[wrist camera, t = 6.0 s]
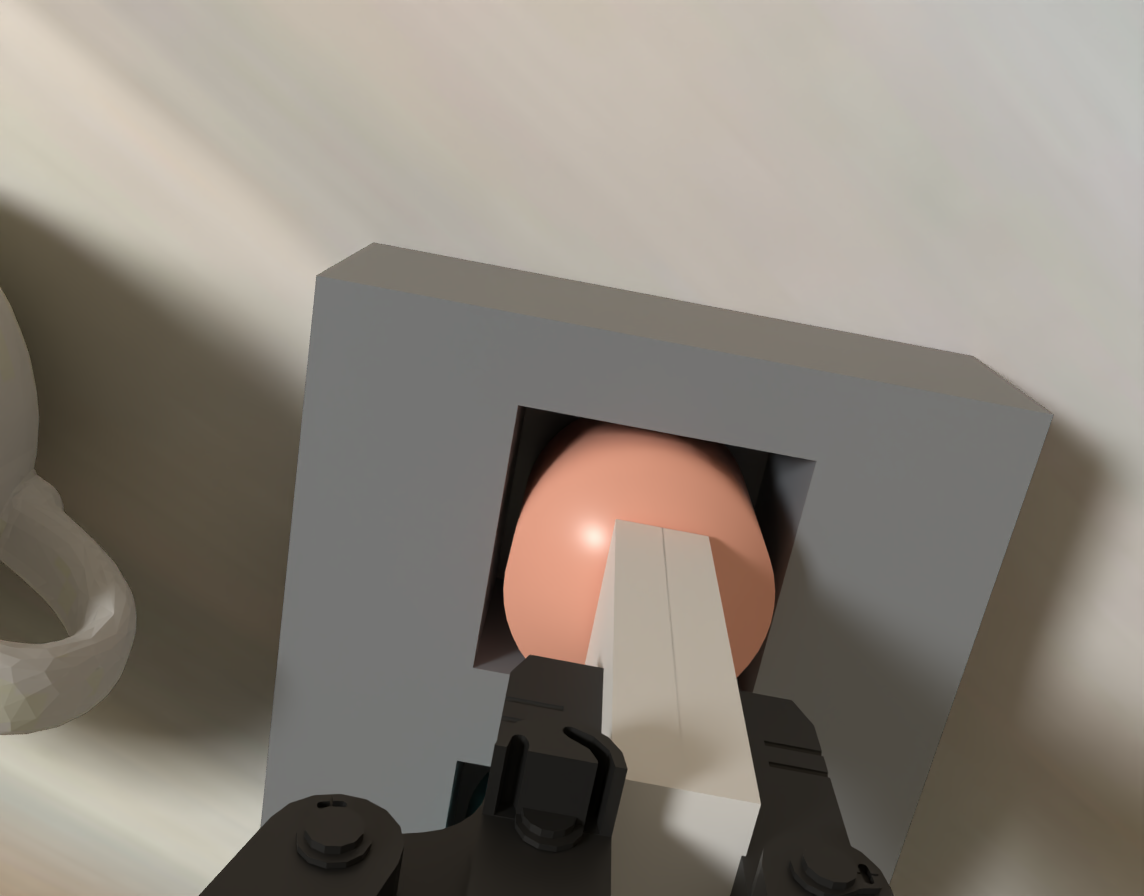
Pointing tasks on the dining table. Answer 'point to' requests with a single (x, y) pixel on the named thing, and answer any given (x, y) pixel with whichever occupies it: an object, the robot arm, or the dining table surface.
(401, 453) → the console
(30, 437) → the teacup
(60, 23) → the dining table surface
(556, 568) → the salmon orange ball
